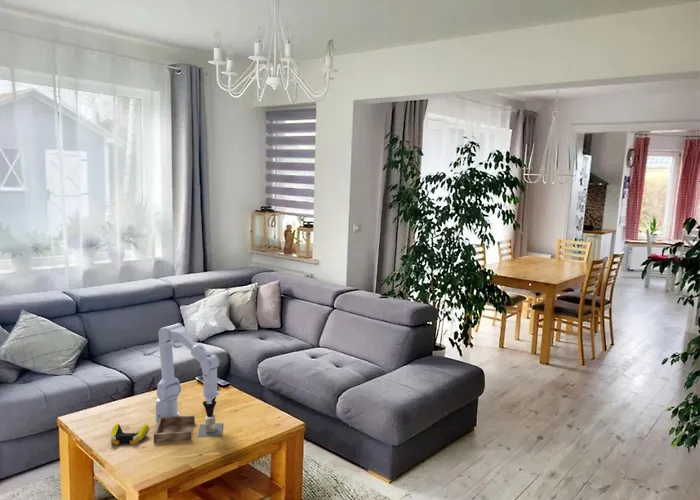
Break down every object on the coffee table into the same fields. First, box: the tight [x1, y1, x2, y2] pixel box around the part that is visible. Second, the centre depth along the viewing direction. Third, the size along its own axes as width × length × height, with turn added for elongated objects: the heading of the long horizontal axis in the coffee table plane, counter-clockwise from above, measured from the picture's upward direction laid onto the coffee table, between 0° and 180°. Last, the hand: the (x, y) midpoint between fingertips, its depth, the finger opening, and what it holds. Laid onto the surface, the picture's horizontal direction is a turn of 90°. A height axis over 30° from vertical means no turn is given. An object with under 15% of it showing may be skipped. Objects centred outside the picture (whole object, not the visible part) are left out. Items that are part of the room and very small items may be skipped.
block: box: [204, 414, 216, 432], centre depth 231 cm, size 4×4×6 cm
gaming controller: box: [110, 423, 150, 446], centre depth 222 cm, size 15×6×10 cm
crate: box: [153, 414, 196, 443], centre depth 229 cm, size 15×16×4 cm
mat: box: [197, 422, 224, 438], centre depth 232 cm, size 10×12×1 cm
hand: (210, 412), depth 231 cm, fingers open, 7 cm apart
